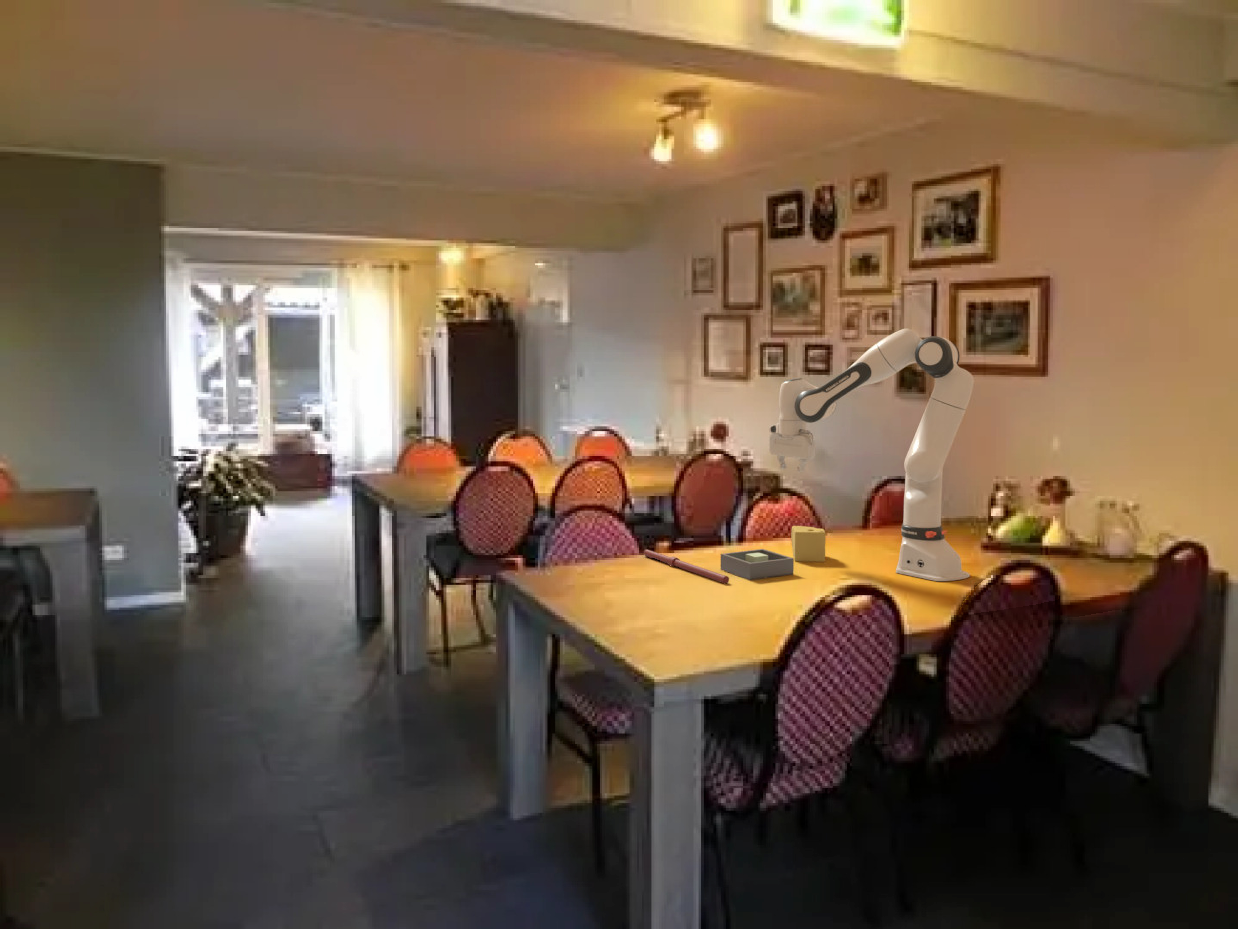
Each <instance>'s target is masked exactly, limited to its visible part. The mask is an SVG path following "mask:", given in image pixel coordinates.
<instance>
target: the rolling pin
mask: <svg viewBox="0 0 1238 929" xmlns="http://www.w3.org/2000/svg"><path fill="white" fill-rule="evenodd" d="M643 555H644V557H647V558H650V559H652V558H655V559H657V560H656V561H658V560H660V561H659V562H661V561H662V563H664V564H667V565H668V566H669V565H671V566H670V567H672V566H676V567H675V568H678V567H679V569H681V570H684V571H687V572H691V573H694V574H696V575H699V576H702V577H705V578H707V579H711V580H713V581H717V582H719V583H722V584H724V583H725V585H726V583H727V584H728V583H730V582H729V581H730V578H729V576H727V575H724V574H722V573H718V572H715V571H712V570H709V569H706V568H705V567H704V568H703V567H702V566H701V567H700V566H698V565H694V564H693V563H692V564H691V563H689V562H686V561H684V560H683V561H682V560H680V558H678V557H675V556H669V555H665V554H662V553H659V552H656V551H653V550H650V549H645V550H644V551H643ZM655 559H654V560H655Z"/></svg>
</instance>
